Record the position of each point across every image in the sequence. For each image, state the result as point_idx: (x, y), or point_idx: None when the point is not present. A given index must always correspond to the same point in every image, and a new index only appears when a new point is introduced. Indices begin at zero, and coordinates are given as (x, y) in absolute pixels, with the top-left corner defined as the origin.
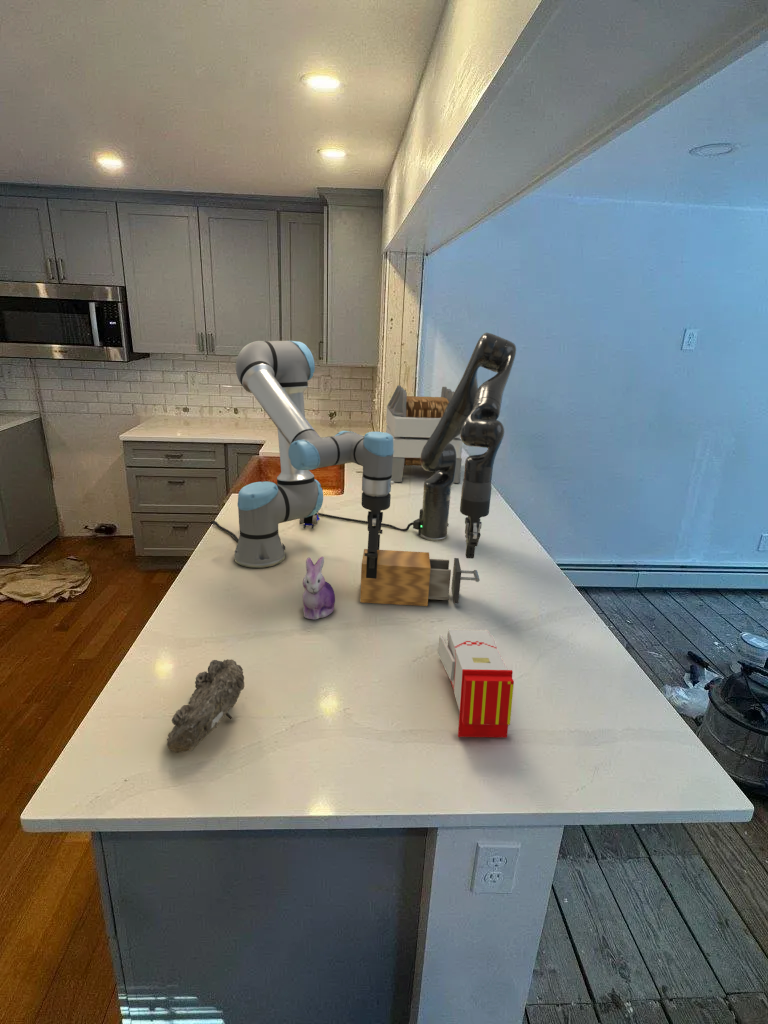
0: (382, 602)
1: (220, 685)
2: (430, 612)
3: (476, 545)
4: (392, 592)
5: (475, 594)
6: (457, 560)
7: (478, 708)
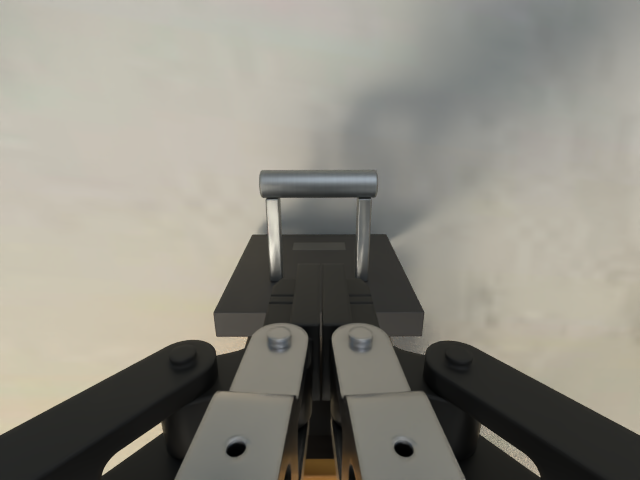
0: None
1: None
2: (428, 324)
3: (489, 364)
4: None
5: (264, 144)
6: (253, 321)
7: None
